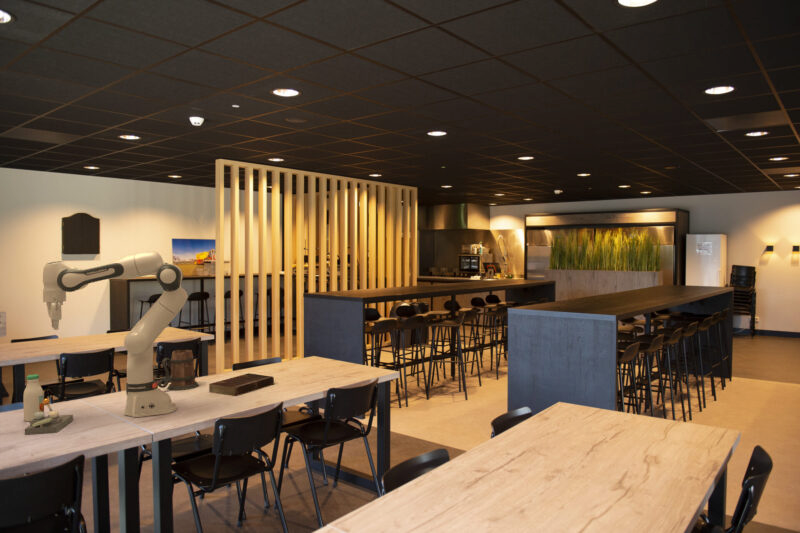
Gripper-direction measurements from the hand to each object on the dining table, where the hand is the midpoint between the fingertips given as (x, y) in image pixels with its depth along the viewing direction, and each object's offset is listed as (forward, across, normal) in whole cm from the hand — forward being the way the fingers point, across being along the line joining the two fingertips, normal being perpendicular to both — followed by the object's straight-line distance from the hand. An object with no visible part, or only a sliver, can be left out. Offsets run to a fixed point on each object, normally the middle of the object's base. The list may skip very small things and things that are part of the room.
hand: (55, 328), depth 253 cm
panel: (+41, -12, +3) cm, 43 cm away
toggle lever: (+36, -8, +2) cm, 37 cm away
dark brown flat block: (+40, +4, -87) cm, 96 cm away
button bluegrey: (+36, -13, +7) cm, 39 cm away
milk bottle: (+41, +7, +8) cm, 43 cm away
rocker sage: (+37, -18, +6) cm, 42 cm away
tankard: (+40, +27, -59) cm, 76 cm away
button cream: (+36, -15, +2) cm, 39 cm away
